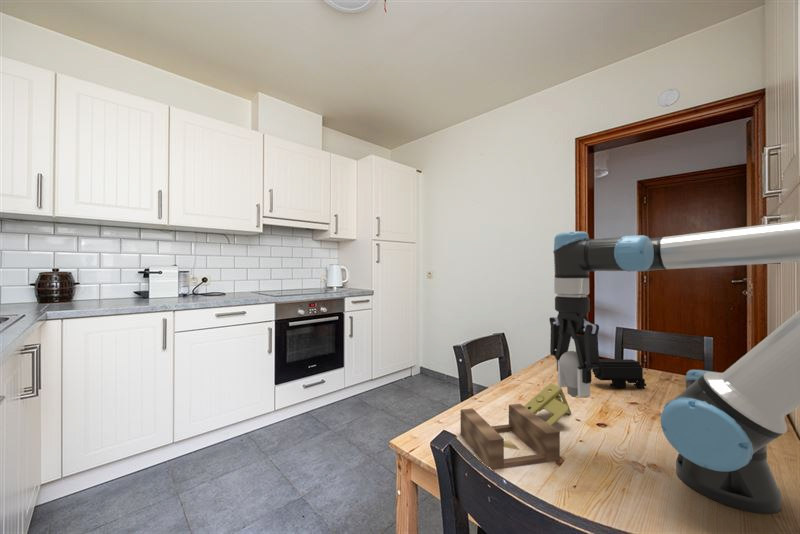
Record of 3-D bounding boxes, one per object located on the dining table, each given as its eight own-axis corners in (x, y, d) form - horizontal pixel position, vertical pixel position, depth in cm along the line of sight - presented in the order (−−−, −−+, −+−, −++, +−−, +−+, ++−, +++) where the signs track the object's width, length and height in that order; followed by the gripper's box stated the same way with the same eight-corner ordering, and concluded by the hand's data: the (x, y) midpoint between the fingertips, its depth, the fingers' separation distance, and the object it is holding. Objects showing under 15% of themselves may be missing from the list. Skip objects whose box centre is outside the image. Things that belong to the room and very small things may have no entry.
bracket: (590, 423, 93) (580, 396, 91) (556, 455, 88) (544, 427, 86) (560, 407, 103) (550, 382, 100) (529, 435, 98) (517, 409, 96)
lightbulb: (587, 404, 73) (587, 356, 73) (558, 398, 76) (557, 352, 76) (588, 395, 78) (587, 350, 78) (560, 390, 82) (560, 347, 82)
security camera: (651, 390, 119) (650, 363, 119) (601, 390, 119) (601, 363, 119) (637, 383, 126) (637, 358, 126) (590, 383, 126) (590, 358, 126)
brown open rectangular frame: (559, 461, 75) (559, 431, 75) (489, 472, 71) (489, 440, 71) (519, 428, 90) (519, 403, 90) (460, 435, 86) (460, 409, 86)
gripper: (618, 298, 69) (620, 405, 69) (558, 293, 88) (559, 377, 87) (589, 299, 68) (591, 408, 67) (534, 293, 86) (535, 379, 86)
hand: (573, 390), depth 77 cm, fingers closed on lightbulb, 6 cm apart
